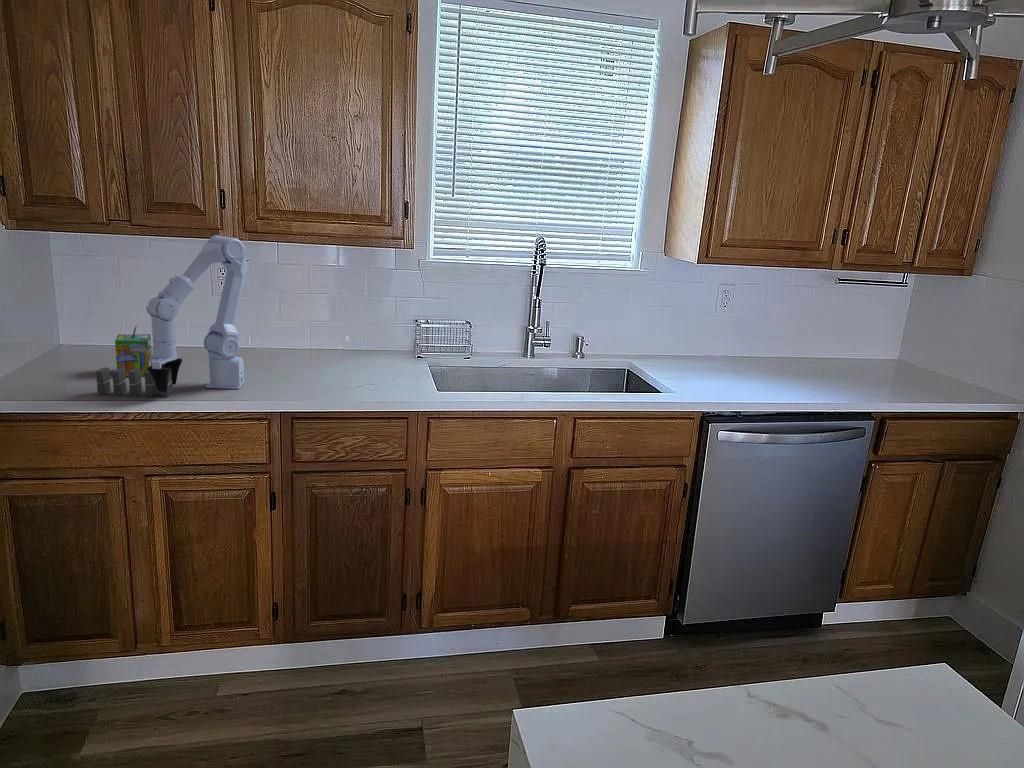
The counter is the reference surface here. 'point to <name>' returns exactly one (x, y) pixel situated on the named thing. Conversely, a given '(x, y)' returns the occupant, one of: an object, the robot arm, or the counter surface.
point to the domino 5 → (169, 388)
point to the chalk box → (133, 352)
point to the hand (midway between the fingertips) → (167, 387)
